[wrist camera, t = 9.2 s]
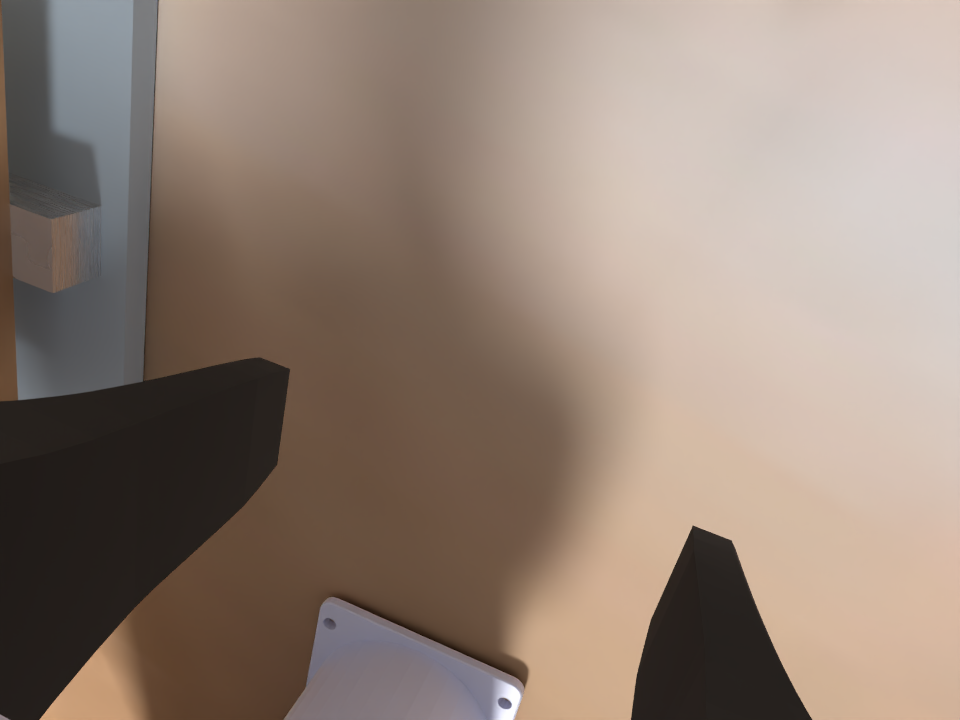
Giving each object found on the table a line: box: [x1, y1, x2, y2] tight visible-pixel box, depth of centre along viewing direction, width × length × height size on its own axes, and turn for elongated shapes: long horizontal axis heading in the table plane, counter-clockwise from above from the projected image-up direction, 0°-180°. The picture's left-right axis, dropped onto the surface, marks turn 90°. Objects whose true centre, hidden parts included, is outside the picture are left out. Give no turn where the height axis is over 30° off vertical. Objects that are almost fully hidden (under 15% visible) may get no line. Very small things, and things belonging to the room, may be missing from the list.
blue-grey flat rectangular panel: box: [1, 0, 158, 400], centre depth 27 cm, size 16×9×1 cm, turn 166°
